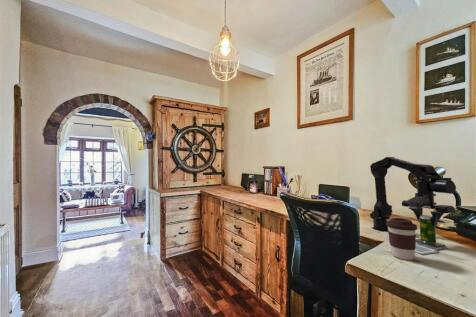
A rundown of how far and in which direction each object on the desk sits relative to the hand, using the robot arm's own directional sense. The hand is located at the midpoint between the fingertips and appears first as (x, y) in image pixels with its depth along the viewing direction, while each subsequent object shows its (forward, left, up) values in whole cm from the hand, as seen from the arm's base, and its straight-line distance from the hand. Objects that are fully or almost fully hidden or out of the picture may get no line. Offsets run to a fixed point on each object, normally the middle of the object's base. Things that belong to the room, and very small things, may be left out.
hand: (427, 224), depth 95 cm
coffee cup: (+6, -24, -10) cm, 27 cm away
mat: (+2, -10, -10) cm, 14 cm away
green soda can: (0, 0, -8) cm, 8 cm away
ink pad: (0, 0, -10) cm, 10 cm away
